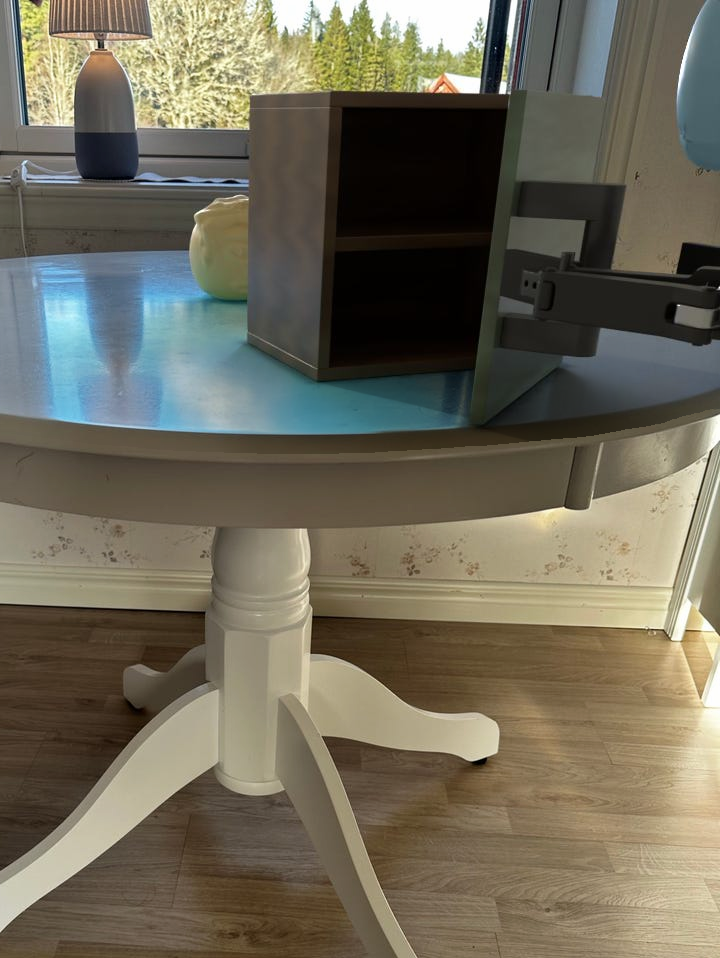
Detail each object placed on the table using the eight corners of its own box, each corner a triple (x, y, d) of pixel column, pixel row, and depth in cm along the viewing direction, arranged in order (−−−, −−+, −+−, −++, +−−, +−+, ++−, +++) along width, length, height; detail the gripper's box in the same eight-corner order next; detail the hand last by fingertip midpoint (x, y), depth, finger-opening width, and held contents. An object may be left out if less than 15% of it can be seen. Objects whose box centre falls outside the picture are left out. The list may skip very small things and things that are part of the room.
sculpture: (200, 306, 105) (199, 199, 100) (182, 289, 115) (180, 191, 110) (300, 303, 107) (305, 198, 102) (274, 287, 117) (276, 190, 112)
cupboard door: (635, 372, 79) (692, 97, 69) (572, 439, 62) (636, 89, 52) (550, 362, 82) (593, 97, 72) (468, 423, 65) (510, 89, 55)
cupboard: (550, 362, 82) (593, 95, 73) (316, 381, 75) (330, 90, 66) (452, 328, 95) (478, 98, 86) (246, 342, 89) (249, 94, 79)
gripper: (661, 434, 42) (420, 340, 59) (1049, 390, 49) (734, 318, 67) (703, 250, 38) (433, 208, 56) (1114, 233, 46) (763, 200, 63)
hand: (597, 268), depth 61 cm, fingers open, 13 cm apart
